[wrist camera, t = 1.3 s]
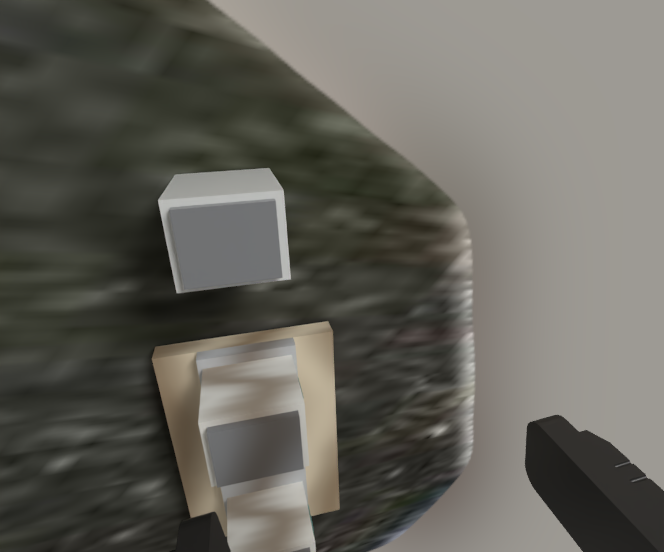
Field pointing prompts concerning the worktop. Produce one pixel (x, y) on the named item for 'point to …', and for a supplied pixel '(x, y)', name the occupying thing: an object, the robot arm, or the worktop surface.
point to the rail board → (315, 411)
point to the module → (225, 229)
